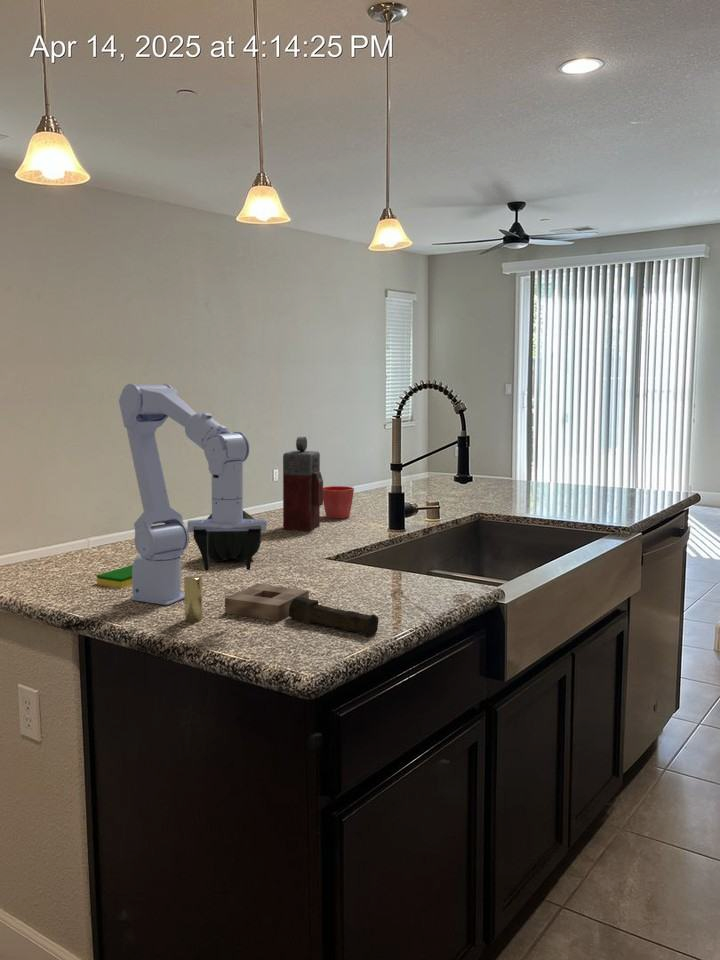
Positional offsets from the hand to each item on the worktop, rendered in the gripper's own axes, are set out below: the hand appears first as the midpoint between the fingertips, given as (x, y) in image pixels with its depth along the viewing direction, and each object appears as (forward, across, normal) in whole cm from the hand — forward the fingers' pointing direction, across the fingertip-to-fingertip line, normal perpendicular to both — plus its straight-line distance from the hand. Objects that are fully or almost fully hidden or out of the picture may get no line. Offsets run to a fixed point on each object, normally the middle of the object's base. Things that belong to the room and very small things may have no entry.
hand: (227, 569), depth 149 cm
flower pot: (+10, +32, +111) cm, 116 cm away
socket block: (+10, +8, +5) cm, 13 cm away
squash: (+10, -1, +50) cm, 51 cm away
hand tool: (+10, +18, -8) cm, 22 cm away
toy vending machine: (+10, +20, +91) cm, 94 cm away
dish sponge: (+10, -23, +32) cm, 41 cm away
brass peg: (+10, -6, 0) cm, 12 cm away
